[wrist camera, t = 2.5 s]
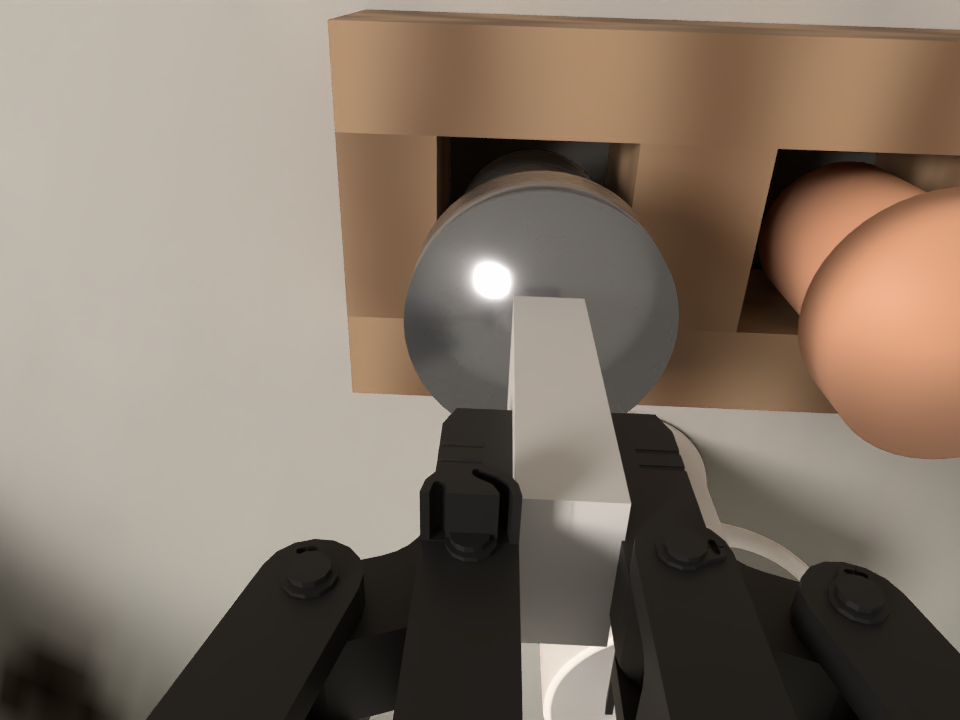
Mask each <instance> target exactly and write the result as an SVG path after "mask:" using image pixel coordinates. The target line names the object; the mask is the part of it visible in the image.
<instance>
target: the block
mask: <svg viewBox="0 0 960 720" xmlns="http://www.w3.org/2000/svg"><path fill="white" fill-rule="evenodd" d="M328 32H329V47H330V62H331V77H332V92H333V107H334V121H335V136H336V151H337V166H338V181H339V196H340V211H341V226H342V241H343V255H344V270H345V285H346V300H347V315H348V330H349V345H350V360H351V375H352V390H353V392H354V393H377V394H400V395H423V396H432V395H431V394H430V392H429V391H428V390H427V388H426V387H425V386H424V384H423V383H422V381H421V380H420V378H419V376H418V374H417V373H416V371H415V369H414V366H413V364H412V361H411V359H410V356H409V353H408V349H407V345H406V341H405V334H404V324H403V323H404V306H405V301H406V296H407V291H408V288H409V284H410V281H411V278H412V275H413V272H414V269H415V265H416V262H417V259H418V256H419V253H420V251H421V248H422V245H423V243H424V241H425V239H426V237H427V235H428V233H429V231H430V230H431V229H432V227H433V226H434V224H435V223H436V221H437V220H438V219H439V217H440V216H441V215H442V214H443V213H444V212H445V211H446V210H447V209H448V208H449V207H450V161H451V137H476V138H503V139H529V140H556V141H583V142H610V148H609V157H608V165H607V174H606V183H605V188H607V189H609V190H610V191H612V192H613V193H615V194H616V195H617V196H619V197H620V198H621V199H623V200H624V201H625V202H626V203H627V204H628V205H629V206H630V207H631V208H632V209H633V210H634V211H635V212H636V213H637V214H638V216H639V217H640V218H641V220H642V221H643V223H644V224H645V225H646V227H647V229H648V231H649V232H650V234H651V236H652V238H653V240H654V242H655V243H656V245H657V247H658V249H659V251H660V253H661V255H662V256H663V258H664V260H665V262H666V264H667V266H668V268H669V270H670V272H671V275H672V278H673V281H674V284H675V287H676V293H677V298H678V307H679V323H678V332H677V338H676V341H675V345H674V349H673V352H672V355H671V357H670V359H669V362H668V364H667V366H666V368H665V370H664V372H663V373H662V375H661V377H660V378H659V380H658V381H657V383H656V384H655V385H654V387H653V388H652V389H651V391H650V392H649V393H648V394H647V395H646V396H645V397H644V398H643V399H642V400H641V401H640V402H639V403H638V404H637V405H653V406H676V407H699V408H722V409H745V410H768V411H791V412H814V413H837V414H838V412H837V411H836V410H835V408H834V407H833V406H832V404H831V403H830V402H829V400H828V399H827V398H826V396H825V395H824V394H823V392H822V391H821V390H820V388H819V387H818V386H817V384H816V383H815V382H814V380H813V379H812V377H811V376H810V374H809V373H808V371H807V369H806V367H805V365H804V363H803V360H802V356H801V353H800V349H799V341H798V321H799V316H800V315H799V314H798V313H797V312H796V311H795V310H794V308H793V307H792V306H791V305H790V304H789V303H788V301H787V300H786V299H785V298H784V297H783V295H782V294H781V293H780V292H779V291H778V290H777V288H776V287H775V286H774V285H773V284H772V282H771V281H770V280H769V279H768V277H767V276H766V274H765V272H764V270H763V269H751V265H752V261H753V256H754V252H755V247H756V243H757V239H758V234H759V230H760V225H761V221H762V217H763V212H764V208H765V203H766V199H767V195H768V190H769V186H770V181H771V177H772V173H773V168H774V164H775V159H776V155H777V151H778V149H798V150H824V151H851V152H878V156H877V159H876V163H875V166H877V167H879V168H882V169H884V170H885V171H887V172H889V173H891V174H893V175H895V176H897V177H899V178H901V179H903V180H904V181H906V182H908V183H910V184H912V185H914V186H916V187H918V188H920V189H922V190H923V191H925V192H930V191H934V190H939V189H946V188H953V187H960V30H944V29H915V28H886V27H857V26H828V25H799V24H769V23H740V22H711V21H682V20H653V19H624V18H595V17H566V16H537V15H508V14H478V13H449V12H420V11H391V10H363V11H359V12H355V13H352V14H348V15H344V16H340V17H336V18H333V19H329V20H328Z"/></svg>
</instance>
